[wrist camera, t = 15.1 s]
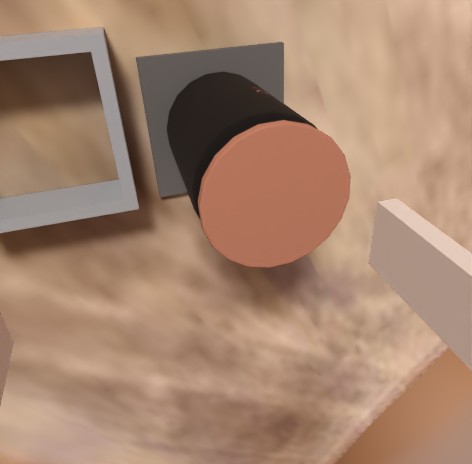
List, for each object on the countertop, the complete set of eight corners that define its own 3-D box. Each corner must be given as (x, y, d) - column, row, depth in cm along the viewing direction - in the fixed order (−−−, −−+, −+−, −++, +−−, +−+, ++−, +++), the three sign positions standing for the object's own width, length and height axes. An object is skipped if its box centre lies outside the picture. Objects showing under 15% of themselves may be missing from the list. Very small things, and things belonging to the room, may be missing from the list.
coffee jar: (276, 154, 47) (357, 238, 32) (184, 186, 46) (222, 288, 31) (255, 54, 41) (344, 99, 26) (149, 88, 40) (176, 156, 25)
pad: (159, 194, 46) (160, 197, 45) (135, 57, 39) (136, 58, 38) (281, 174, 49) (283, 176, 48) (281, 42, 41) (283, 42, 41)
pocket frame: (-22, 213, 42) (-36, 239, 38) (-95, 44, 34) (-123, 54, 30) (135, 187, 45) (139, 209, 41) (103, 26, 37) (103, 33, 33)
